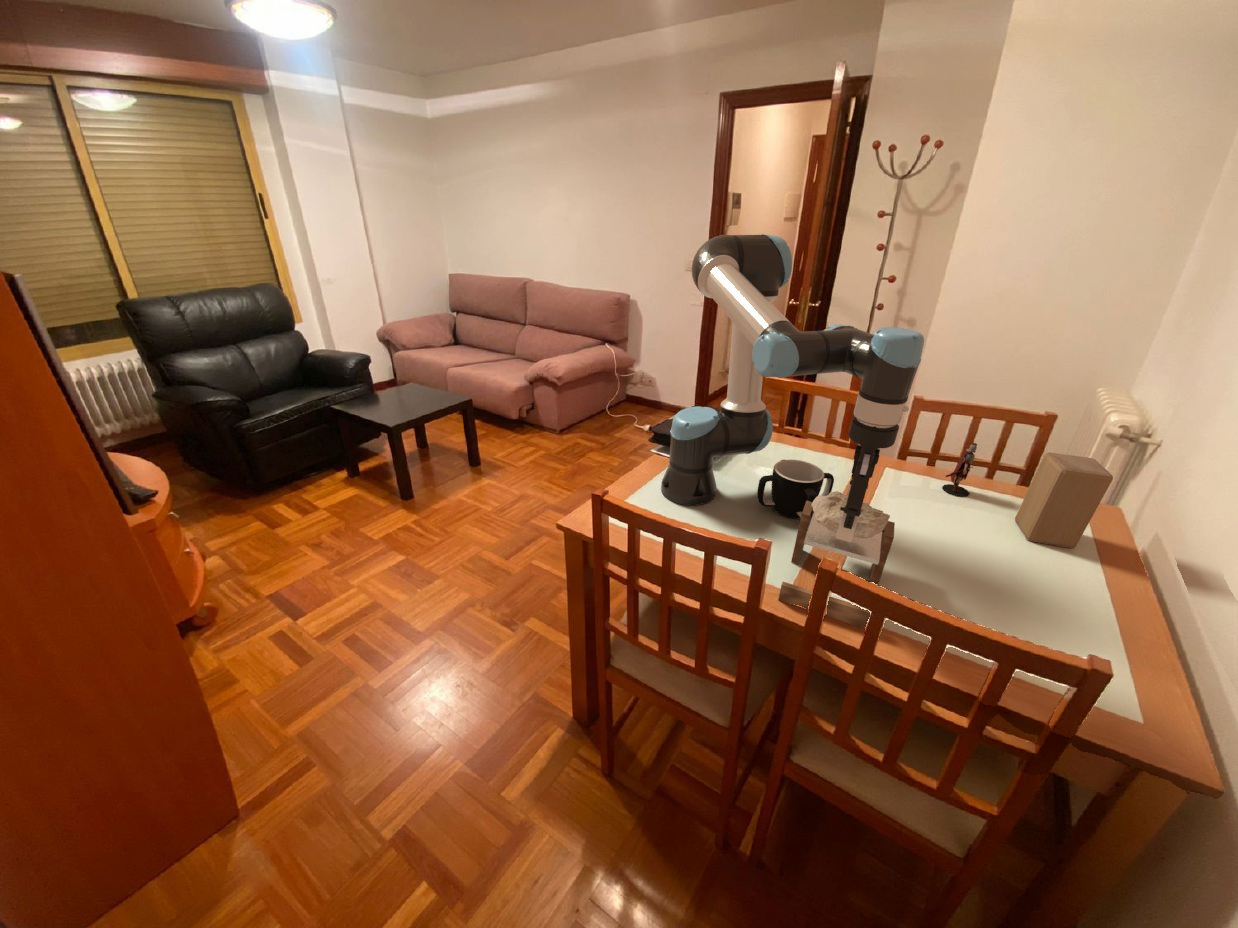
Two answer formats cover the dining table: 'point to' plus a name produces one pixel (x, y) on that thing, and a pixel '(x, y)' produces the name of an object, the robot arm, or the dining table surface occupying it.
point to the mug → (794, 487)
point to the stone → (831, 514)
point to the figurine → (961, 473)
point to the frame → (835, 606)
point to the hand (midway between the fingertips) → (846, 527)
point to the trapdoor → (844, 543)
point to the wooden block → (1062, 499)
